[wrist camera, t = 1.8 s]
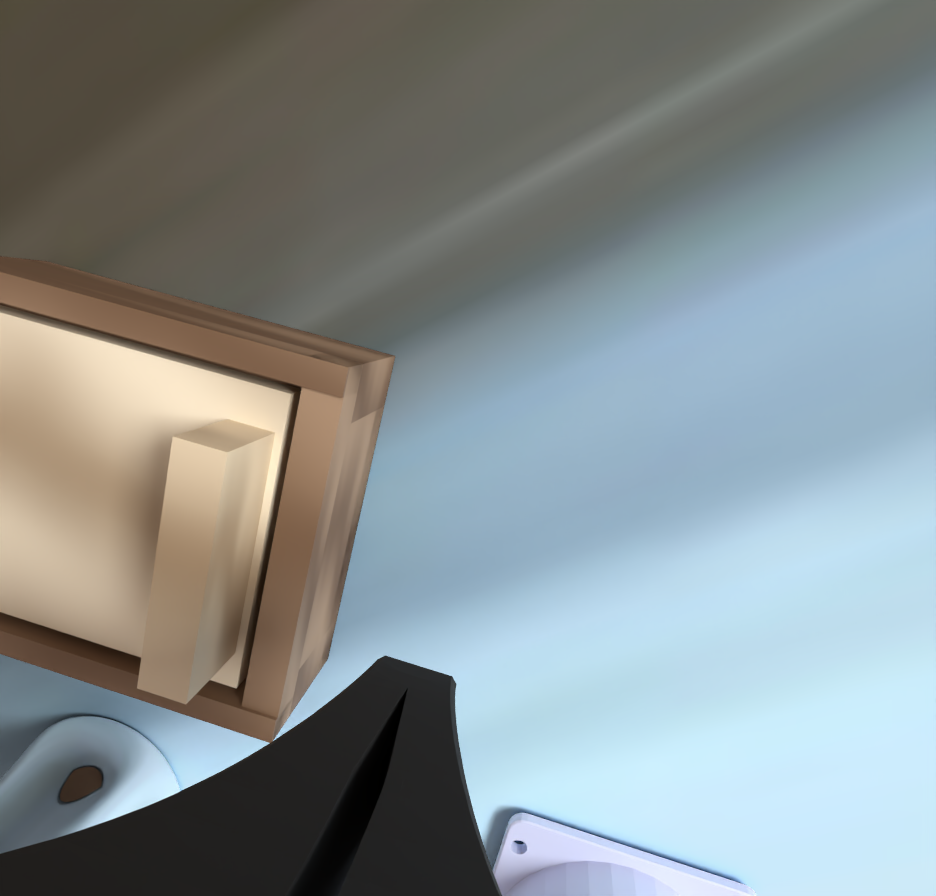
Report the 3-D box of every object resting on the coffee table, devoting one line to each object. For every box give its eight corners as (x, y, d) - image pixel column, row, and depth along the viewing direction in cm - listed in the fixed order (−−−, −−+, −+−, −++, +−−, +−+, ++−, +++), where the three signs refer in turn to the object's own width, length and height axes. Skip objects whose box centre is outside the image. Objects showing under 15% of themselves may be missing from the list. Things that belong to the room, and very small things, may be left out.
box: (327, 658, 20) (271, 743, 16) (19, 561, 21) (-106, 619, 17) (395, 356, 18) (348, 367, 14) (45, 261, 19) (-93, 246, 15)
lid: (251, 671, 17) (187, 744, 14) (-75, 567, 18) (-197, 616, 15) (304, 390, 15) (244, 407, 12) (-62, 287, 16) (-198, 281, 13)
